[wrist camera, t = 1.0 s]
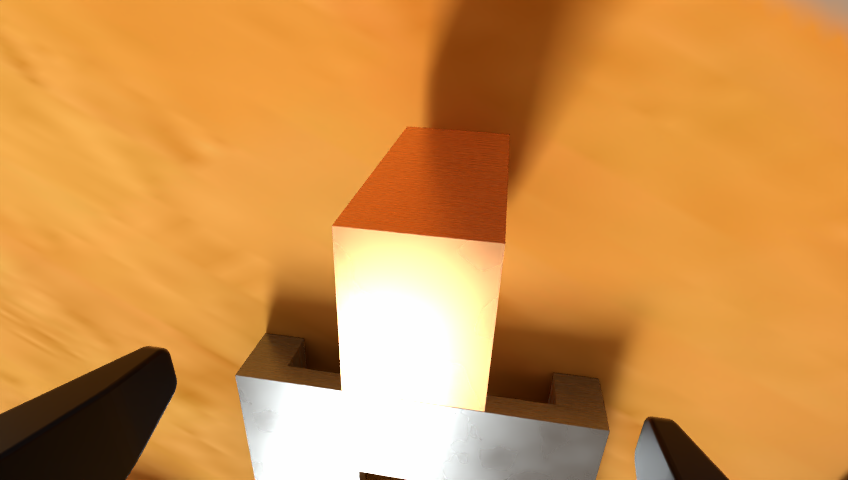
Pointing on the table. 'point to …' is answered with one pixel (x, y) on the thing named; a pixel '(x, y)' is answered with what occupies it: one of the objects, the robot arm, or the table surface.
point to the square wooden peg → (423, 269)
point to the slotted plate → (410, 428)
